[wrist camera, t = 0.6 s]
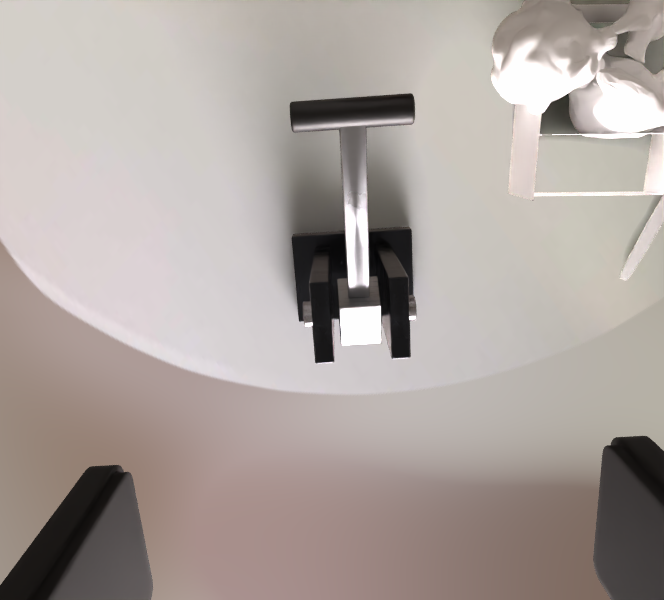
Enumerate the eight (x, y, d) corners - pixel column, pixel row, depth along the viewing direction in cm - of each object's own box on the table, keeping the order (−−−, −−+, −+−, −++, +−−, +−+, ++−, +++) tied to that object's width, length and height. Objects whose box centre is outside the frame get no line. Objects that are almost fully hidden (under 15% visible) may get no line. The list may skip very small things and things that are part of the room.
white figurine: (466, 193, 36) (500, 206, 29) (478, -7, 33) (519, -49, 26) (661, 191, 36) (742, 204, 29) (693, -10, 33) (794, -52, 26)
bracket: (292, 233, 37) (277, 269, 27) (409, 226, 37) (438, 259, 27) (299, 316, 39) (288, 379, 29) (411, 309, 39) (439, 371, 29)
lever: (290, 91, 23) (288, 114, 21) (409, 83, 23) (417, 105, 21) (315, 317, 31) (315, 347, 30) (401, 312, 31) (407, 342, 29)
